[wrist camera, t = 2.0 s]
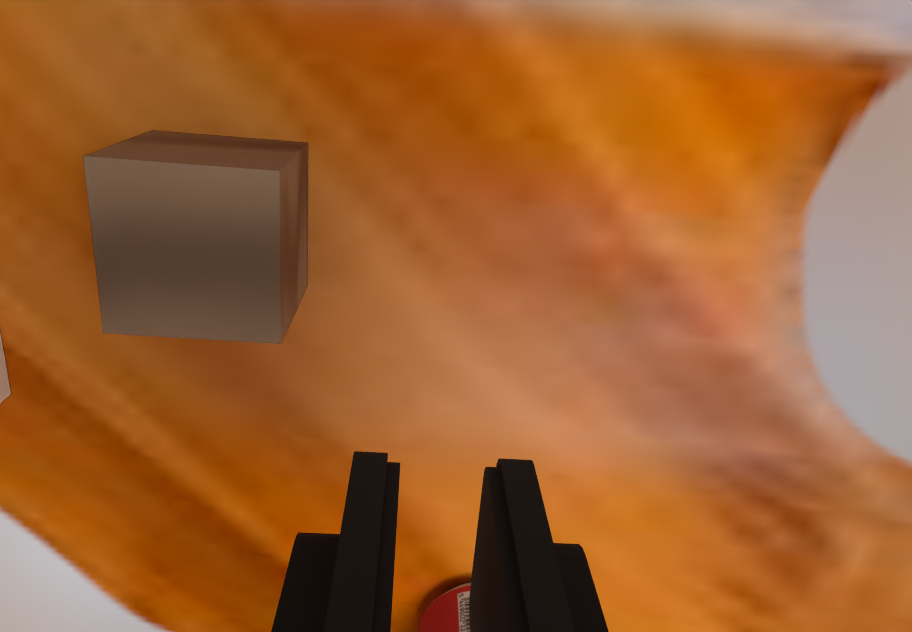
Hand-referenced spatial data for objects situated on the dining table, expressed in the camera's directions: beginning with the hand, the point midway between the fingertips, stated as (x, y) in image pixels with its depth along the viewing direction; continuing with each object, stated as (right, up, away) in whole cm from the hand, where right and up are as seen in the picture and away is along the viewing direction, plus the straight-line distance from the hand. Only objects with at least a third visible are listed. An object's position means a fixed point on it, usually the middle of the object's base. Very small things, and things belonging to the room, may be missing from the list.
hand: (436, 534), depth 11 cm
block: (-9, +8, +17) cm, 21 cm away
